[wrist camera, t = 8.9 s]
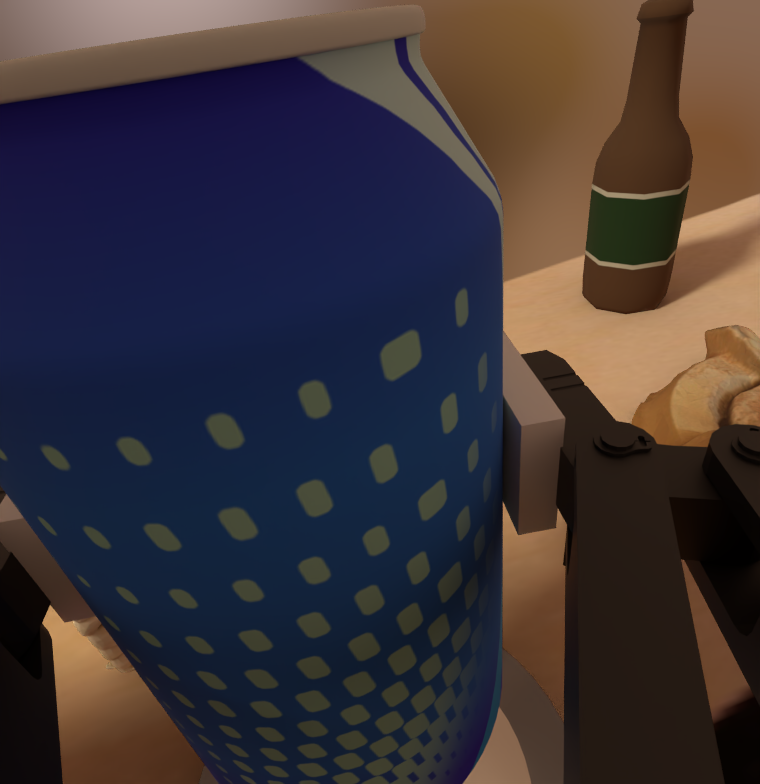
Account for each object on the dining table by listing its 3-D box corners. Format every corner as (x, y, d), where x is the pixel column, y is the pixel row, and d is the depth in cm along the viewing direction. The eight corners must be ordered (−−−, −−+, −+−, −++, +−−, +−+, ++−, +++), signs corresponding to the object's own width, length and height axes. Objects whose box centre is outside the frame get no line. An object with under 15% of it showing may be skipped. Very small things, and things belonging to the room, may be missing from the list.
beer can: (194, 903, 12) (-673, 157, 3) (230, 590, 19) (-10, 77, 10) (551, 825, 12) (679, -50, 4) (458, 544, 19) (422, 10, 10)
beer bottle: (580, 280, 57) (607, 5, 43) (661, 281, 54) (716, -11, 41) (581, 314, 51) (613, 6, 37) (672, 316, 48) (741, -12, 35)
